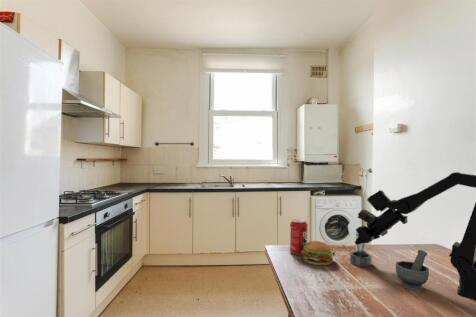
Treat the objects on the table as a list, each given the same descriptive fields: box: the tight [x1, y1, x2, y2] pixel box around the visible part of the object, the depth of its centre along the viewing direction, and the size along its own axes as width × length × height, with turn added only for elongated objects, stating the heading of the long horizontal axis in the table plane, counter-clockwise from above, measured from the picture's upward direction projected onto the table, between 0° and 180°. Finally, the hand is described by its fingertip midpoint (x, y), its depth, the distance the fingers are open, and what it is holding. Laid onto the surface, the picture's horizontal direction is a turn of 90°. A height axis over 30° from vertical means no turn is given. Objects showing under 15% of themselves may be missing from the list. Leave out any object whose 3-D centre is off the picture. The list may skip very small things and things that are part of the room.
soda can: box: [289, 218, 309, 256], centre depth 125 cm, size 8×8×15 cm
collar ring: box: [349, 250, 373, 268], centre depth 114 cm, size 8×8×4 cm
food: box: [301, 240, 336, 267], centre depth 116 cm, size 14×14×8 cm
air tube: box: [355, 230, 367, 257], centre depth 114 cm, size 4×4×12 cm
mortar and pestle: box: [395, 249, 430, 292], centre depth 94 cm, size 11×9×12 cm
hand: (357, 242), depth 115 cm, fingers closed on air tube, 4 cm apart
